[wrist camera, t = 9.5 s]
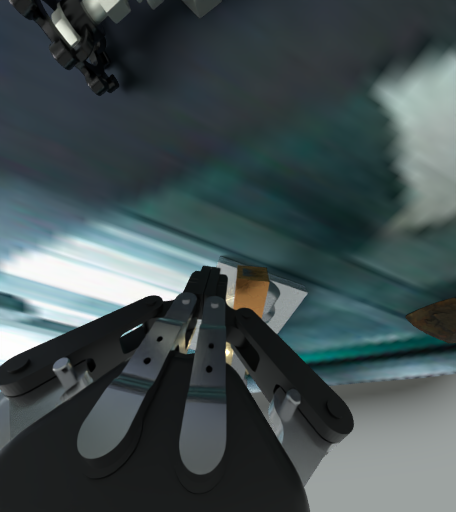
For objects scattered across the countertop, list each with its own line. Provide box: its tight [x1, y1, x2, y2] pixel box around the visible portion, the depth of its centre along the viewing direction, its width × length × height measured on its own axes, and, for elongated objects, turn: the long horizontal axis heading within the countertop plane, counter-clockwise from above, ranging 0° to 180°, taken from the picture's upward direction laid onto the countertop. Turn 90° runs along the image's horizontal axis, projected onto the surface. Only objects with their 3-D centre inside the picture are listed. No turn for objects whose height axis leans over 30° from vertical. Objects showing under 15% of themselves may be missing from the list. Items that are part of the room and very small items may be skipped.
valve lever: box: [231, 265, 270, 387], centre depth 16 cm, size 15×2×2 cm, turn 176°
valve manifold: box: [189, 256, 308, 374], centre depth 23 cm, size 12×18×8 cm, turn 161°
